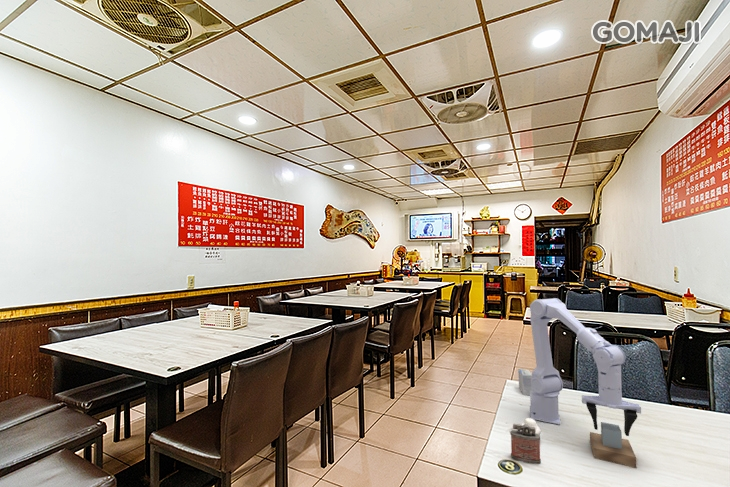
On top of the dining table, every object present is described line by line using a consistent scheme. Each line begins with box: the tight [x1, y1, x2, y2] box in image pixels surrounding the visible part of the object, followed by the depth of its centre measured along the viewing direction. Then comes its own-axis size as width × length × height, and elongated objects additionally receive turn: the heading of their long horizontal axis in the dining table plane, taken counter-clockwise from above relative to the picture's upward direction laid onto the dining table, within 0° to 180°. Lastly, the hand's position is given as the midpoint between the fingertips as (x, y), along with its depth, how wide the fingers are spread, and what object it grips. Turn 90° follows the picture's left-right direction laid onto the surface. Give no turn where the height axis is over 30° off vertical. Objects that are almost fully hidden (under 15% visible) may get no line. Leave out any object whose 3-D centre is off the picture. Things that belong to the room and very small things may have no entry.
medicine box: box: [518, 368, 534, 396], centre depth 147 cm, size 8×4×9 cm, turn 168°
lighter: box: [509, 423, 542, 465], centre depth 100 cm, size 8×3×10 cm, turn 71°
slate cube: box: [600, 421, 623, 449], centre depth 102 cm, size 4×4×5 cm
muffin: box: [520, 417, 542, 436], centre depth 110 cm, size 6×6×7 cm
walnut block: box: [589, 431, 637, 469], centre depth 102 cm, size 10×10×3 cm
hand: (610, 431), depth 102 cm, fingers open, 7 cm apart
